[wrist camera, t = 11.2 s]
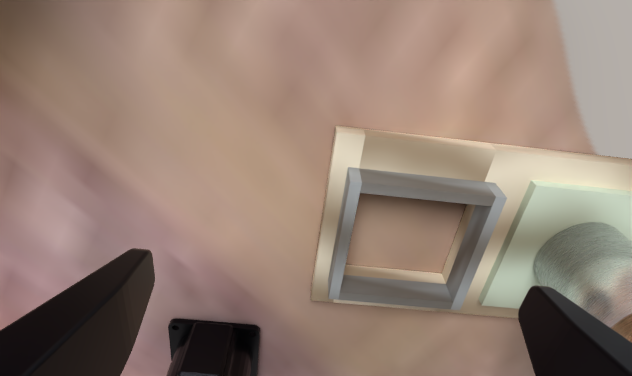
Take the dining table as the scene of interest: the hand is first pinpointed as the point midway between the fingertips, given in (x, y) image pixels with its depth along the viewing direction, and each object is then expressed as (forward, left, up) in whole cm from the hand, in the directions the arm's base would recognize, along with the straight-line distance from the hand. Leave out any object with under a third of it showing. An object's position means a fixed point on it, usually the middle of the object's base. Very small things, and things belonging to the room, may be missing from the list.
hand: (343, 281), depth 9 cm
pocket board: (-7, -11, -13) cm, 18 cm away
